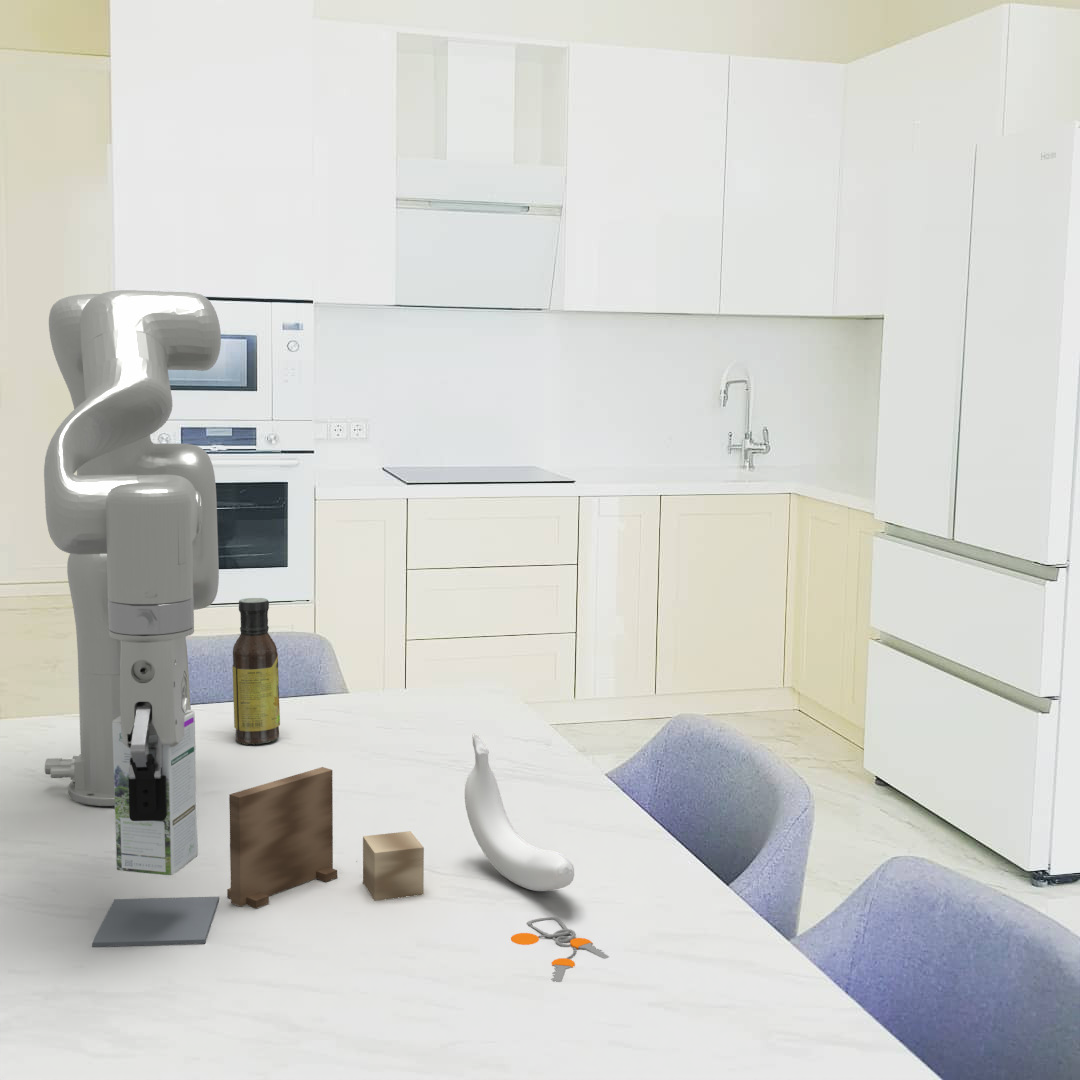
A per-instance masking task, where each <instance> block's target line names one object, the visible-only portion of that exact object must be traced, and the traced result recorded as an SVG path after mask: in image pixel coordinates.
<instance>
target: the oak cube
mask: <svg viewBox="0 0 1080 1080" xmlns="http://www.w3.org/2000/svg"><path fill="white" fill-rule="evenodd" d="M424 849H425V848H424V846H423V844H422V843H421V842H420V841H419V840H418V838H417V837H416V836H415V835H414V833H413V832H412V831H411V830H409V831H408V830H407V831H399V832H390V833H389V832H388V833H381V834H371V835H363V836H362V883H363V885H364V886H365V888H366V890H367V891H368V893H369V894H370V895H371V898H372V899H373V901H374V902H375V901H384V900H385V899H386V900H391V899H392V900H394V899H400V898H401V897H402V898H407V897H406V896H410V897H415V896H414V895H417V896H423V895H422V894H424V891H425V889H424V881H425V880H424V877H425V876H424V875H425V873H424V871H425V870H424V869H425V868H424V867H425V865H424V864H425V862H424V861H425V860H424V859H425V857H424V856H425V853H424V851H425V850H424ZM398 897H400V898H398ZM393 898H394V899H393Z"/></svg>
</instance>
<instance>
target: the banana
mask: <svg viewBox="0 0 1080 1080" xmlns="http://www.w3.org/2000/svg"><path fill="white" fill-rule="evenodd" d="M471 739H472V746H473V750H474V755H475V756H474V757H475V763H474V766H473V768H472V769H471V770H470V772H469V774H468V775H467V778H466V781H465V784H464V786H465V787H464V803H465V810H466V814H467V818H468V821H469V824H470V828H471V831H472V833H473V835H474V837H475V840H476V842H477V844H478V846H479V847H480V850H482V852H483V853H484V855H485V857H486V858H487V860H488V861H489V862H490V863H491V865H492V866H493V868H495V869H496V870H497V871H498V872H499V873H500V874H501V875H502V876H503V877H504V878H506V879H507V880H509V881H510V882H511V883H514V884H515V885H517V886H519V887H522V888H525V889H526V890H530V891H534V892H549V891H554V890H559V889H564V888H566V887H567V886H569V885H571V884H572V882H573V881H574V877H575V868H574V864H573V863H572V861H571V860H570V859H569V858H568V857H566V856H565V855H564V854H562V853H561V852H558V851H556V850H548V849H545V848H544V849H543V848H539V847H537V846H534V845H532V844H530V843H528V841H526V840H524V839H523V838H522V837H521V836H520V835H519V832H518V831H516V829H515V828H514V826H513V825H512V824H513V823H512V822H511V821H510V819H509V816H508V815H507V812H506V809H505V806H504V803H503V799H502V796H501V792H500V789H499V785H498V781H497V778H496V776H495V775H494V774H495V773H494V771H493V770H492V769H491V767H490V763H489V749H488V747H487V745H486V744H485V743H484V741H483V739H482V738H481V737H480V736H479V735H478V734H476V733H473V734H472V738H471Z"/></svg>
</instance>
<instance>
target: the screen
mask: <svg viewBox="0 0 1080 1080" xmlns="http://www.w3.org/2000/svg"><path fill="white" fill-rule="evenodd" d="M228 795H229V798H228V799H229V804H228V805H229V860H230V861H229V862H230V864H229V865H230V868H229V870H230V871H229V872H230V888H227V889H226V893H227V896H226V897H227V898H229V899H230V903H231V904H233V905H235V906H238V907H241V908H242V907H244V906H248V907H252V908H254V909H259V908H261V907H264V906H267V905H270V897H271V896H273V895H277V894H279V893H281V892H284V891H287V890H289V889H292V888H294V887H298V886H300V885H302V884H305V883H308V882H310V881H313V880H316V879H317V880H320V881H322V882H325V883H327V882H330V881H333V880H335V879H337V878H338V869H335V868H334V866H333V865H334V862H333V861H334V849H333V848H334V843H333V842H334V841H333V839H334V838H333V837H334V836H333V835H334V834H333V831H334V828H333V827H334V826H333V825H334V824H333V817H334V816H333V814H334V813H333V812H334V811H333V809H334V807H333V769H330V768H327V767H324V766H322V767H317V768H314V769H312V770H307V771H304V772H300V773H297V774H294V775H291V776H288V777H287V776H286V777H283V778H280V779H278V780H277V779H276V780H274V781H270V782H267V783H263V784H260V785H256V786H253V787H250V788H246V789H242V790H240V791H239V790H238V791H237V792H233V793H230V794H228Z"/></svg>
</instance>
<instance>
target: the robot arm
mask: <svg viewBox="0 0 1080 1080" xmlns="http://www.w3.org/2000/svg"><path fill="white" fill-rule="evenodd" d="M48 331H49V338H50V343H51V347H52V351H53V355H54V358H55V361H56V363H57V366H58V369H59V370H60V373H61V375H62V378H63V380H64V382H65V384H66V387H67V388H68V392H69V394H70V397H71V401H72V404H73V410H72V411H71V412H70V413H69V414H68V415H67V416H66V417H65V418H64V419H63V420H62V422H61V423H60V425H59V426H58V428H57V429H56V430H55V432H54V434H53V435H52V437H51V439H50V440H49V444H48V446H47V448H46V453H45V457H44V464H43V479H44V480H43V482H44V485H43V486H44V503H45V507H44V508H45V519H46V524H47V531H48V534H49V537H50V539H51V541H52V542H53V543H52V544H54V545H55V547H57V548H58V549H59V550H61V551H62V552H64V553H66V554H67V553H68V554H69V555H68V557H67V558H68V559H67V563H66V564H67V566H66V569H67V570H66V571H67V572H66V573H67V574H66V575H67V581H68V587H69V591H70V592H69V593H70V597H71V603H72V608H73V615H74V624H75V631H76V632H75V633H76V644H77V645H76V647H77V673H78V674H77V675H78V677H77V678H78V680H77V681H78V707H79V710H78V711H79V742H80V743H79V745H80V748H79V749H80V753H79V755H73V756H72V758H65V759H64V758H61V757H60V758H46V759H45V764H44V772H45V775H50V778H51V779H63V778H69V779H70V780H71V782H70V783H69V784H68V786H67V789H68V790H67V791H68V793H67V794H68V796H69V798H70V799H71V800H73V801H75V802H77V803H80V804H84V805H88V806H96V807H115V797H114V761H113V732H112V723H113V720H115V719H116V718H118V717H119V716H121V732H122V741H123V743H124V744H125V745H126V746H127V747H128V748H131V752H130V766H129V817H130V819H131V820H132V821H162V820H164V819H165V818H166V816H167V801H166V776H162V771H163V744H169V745H170V747H175V746H176V745H177V744H178V743H179V742H180V741H181V739H182V738H183V736H184V718H185V714H184V713H185V712H186V711H187V710H192V708H191V707H192V706H191V694H190V693H191V691H190V674H189V658H188V646H187V638H186V637H189V636H191V635H193V634H194V633H195V615H194V613H195V611H197V610H201V609H205V608H207V607H210V605H212V604H213V602H214V601H215V599H216V597H217V595H218V590H219V580H220V579H219V578H220V576H219V575H220V574H219V573H220V572H219V571H220V569H219V567H220V566H219V565H220V564H219V535H218V506H217V504H218V503H217V488H216V486H217V485H216V475H215V470H214V465H213V463H212V459H211V457H210V455H209V454H208V452H206V451H205V449H203V447H200V446H198V445H195V444H190V443H154V442H153V441H152V439H151V435H152V434H154V433H155V432H157V431H158V430H159V429H161V428H162V427H163V426H164V425H165V424H166V423H167V422H168V420H169V418H170V416H171V415H172V414H171V413H172V410H173V396H172V390H171V383H170V377H169V371H197V372H199V371H200V372H205V371H209V370H211V369H212V368H213V367H214V365H216V363H217V360H218V359H219V356H220V351H221V344H222V343H221V342H222V335H221V334H222V333H221V326H220V320H219V317H218V314H217V311H216V309H215V307H214V306H213V304H212V302H211V301H210V300H209V298H208V297H206V296H204V295H203V294H201V293H197V292H186V291H160V290H159V291H157V290H135V289H134V290H132V289H130V290H127V289H126V290H125V289H123V290H121V289H120V290H110V291H106V292H102V293H85V294H83V293H82V294H76V295H75V294H74V295H70V296H66V297H62V298H61V299H58V300H57V301H56V302H55V303H54V304H53V305H52V306H51V308H50V310H49V317H48ZM75 473H76V474H75ZM131 732H132V737H128V734H131ZM155 734H158V743H148V741H149V736H151V735H155ZM151 751H156V754H155V758H153V755H152V754H148V753H149V752H151Z"/></svg>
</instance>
